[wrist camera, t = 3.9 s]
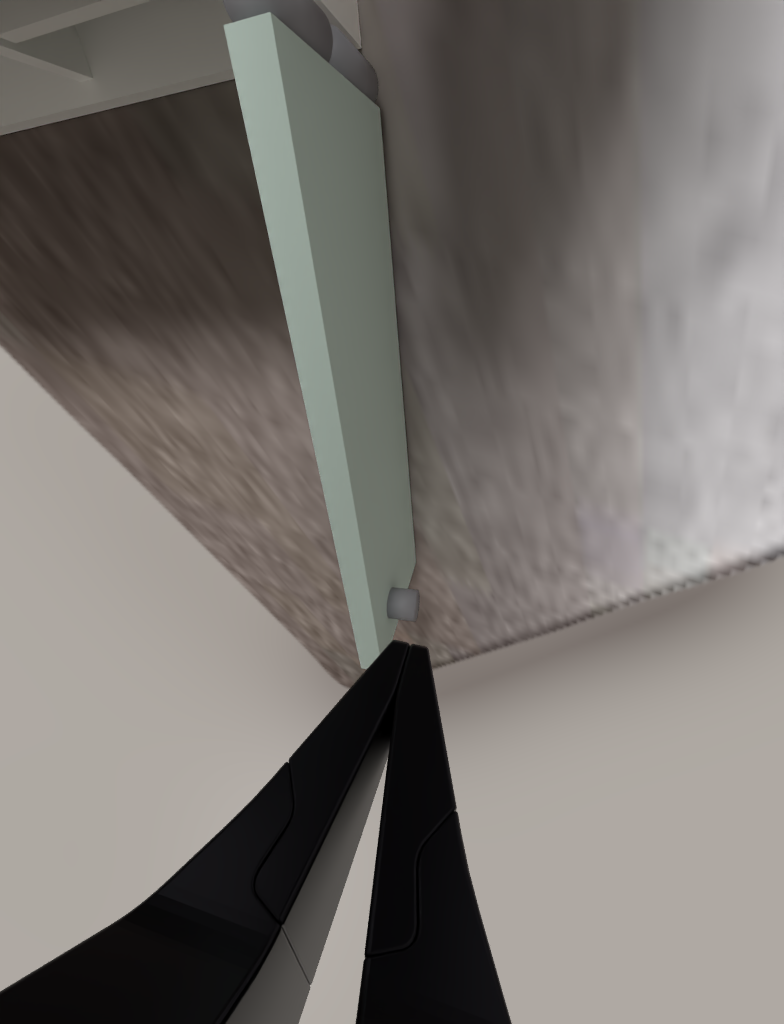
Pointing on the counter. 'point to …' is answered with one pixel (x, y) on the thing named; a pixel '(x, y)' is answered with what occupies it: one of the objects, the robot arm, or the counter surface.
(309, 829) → the robot arm
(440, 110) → the counter surface
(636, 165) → the counter surface
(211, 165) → the counter surface
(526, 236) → the counter surface
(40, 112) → the cupboard
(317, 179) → the door
